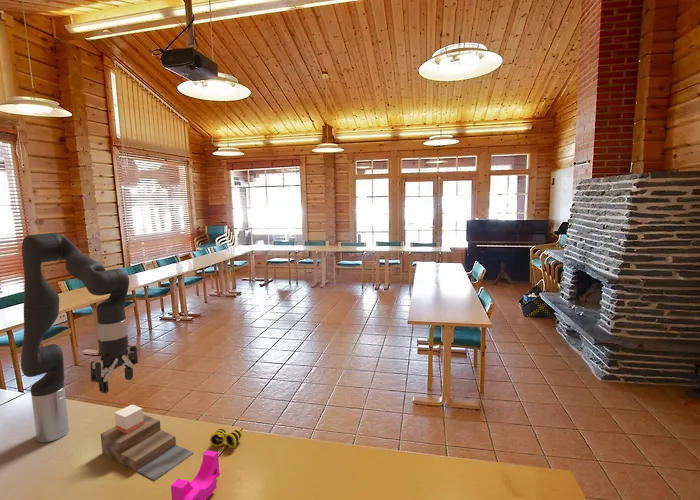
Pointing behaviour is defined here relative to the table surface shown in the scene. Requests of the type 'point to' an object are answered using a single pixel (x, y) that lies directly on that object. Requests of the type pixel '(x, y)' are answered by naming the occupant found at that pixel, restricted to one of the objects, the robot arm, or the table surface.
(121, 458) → the stair block
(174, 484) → the magenta clamp bracket
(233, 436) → the opera glasses
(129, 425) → the cube
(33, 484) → the table surface
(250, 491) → the table surface
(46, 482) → the table surface
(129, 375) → the robot arm
